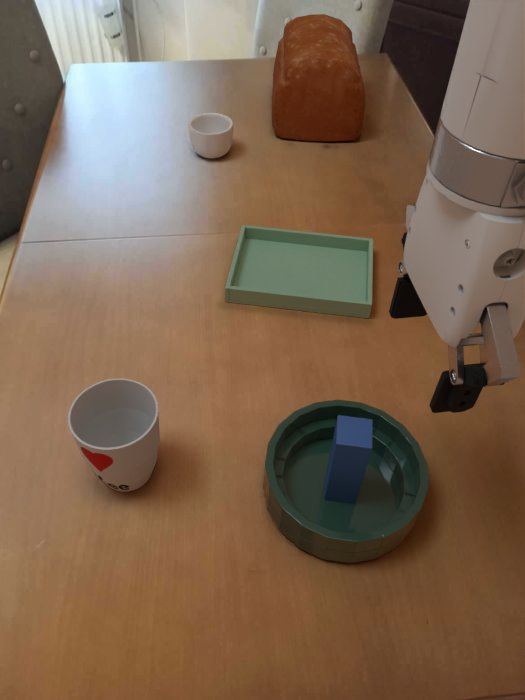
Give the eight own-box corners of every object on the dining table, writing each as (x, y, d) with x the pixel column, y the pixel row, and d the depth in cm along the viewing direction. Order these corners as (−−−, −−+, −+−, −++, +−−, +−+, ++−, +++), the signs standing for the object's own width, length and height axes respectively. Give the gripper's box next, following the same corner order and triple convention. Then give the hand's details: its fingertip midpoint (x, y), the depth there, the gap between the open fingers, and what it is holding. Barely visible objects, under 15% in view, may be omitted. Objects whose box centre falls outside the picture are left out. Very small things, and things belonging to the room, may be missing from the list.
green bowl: (413, 437, 66) (424, 410, 62) (420, 575, 55) (432, 552, 52) (273, 419, 67) (275, 391, 63) (253, 551, 57) (254, 527, 53)
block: (356, 476, 62) (372, 419, 55) (355, 504, 60) (372, 448, 52) (325, 472, 62) (337, 414, 55) (323, 499, 60) (336, 443, 53)
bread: (353, 86, 126) (363, 9, 115) (362, 144, 110) (376, 61, 99) (272, 83, 126) (275, 6, 115) (269, 140, 110) (273, 56, 99)
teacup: (233, 164, 104) (233, 134, 100) (188, 163, 103) (186, 134, 99) (233, 135, 110) (233, 107, 106) (192, 135, 110) (190, 106, 106)
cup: (73, 464, 62) (52, 406, 55) (140, 424, 66) (128, 365, 59) (114, 520, 58) (96, 465, 51) (182, 475, 62) (175, 417, 55)
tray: (370, 252, 88) (373, 238, 86) (369, 318, 79) (372, 304, 77) (241, 238, 89) (242, 224, 88) (225, 302, 80) (224, 288, 78)
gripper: (648, 246, 29) (521, 446, 41) (497, 87, 40) (434, 281, 53) (501, 257, 28) (418, 458, 40) (389, 91, 39) (352, 288, 52)
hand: (427, 358), depth 46 cm, fingers open, 9 cm apart
